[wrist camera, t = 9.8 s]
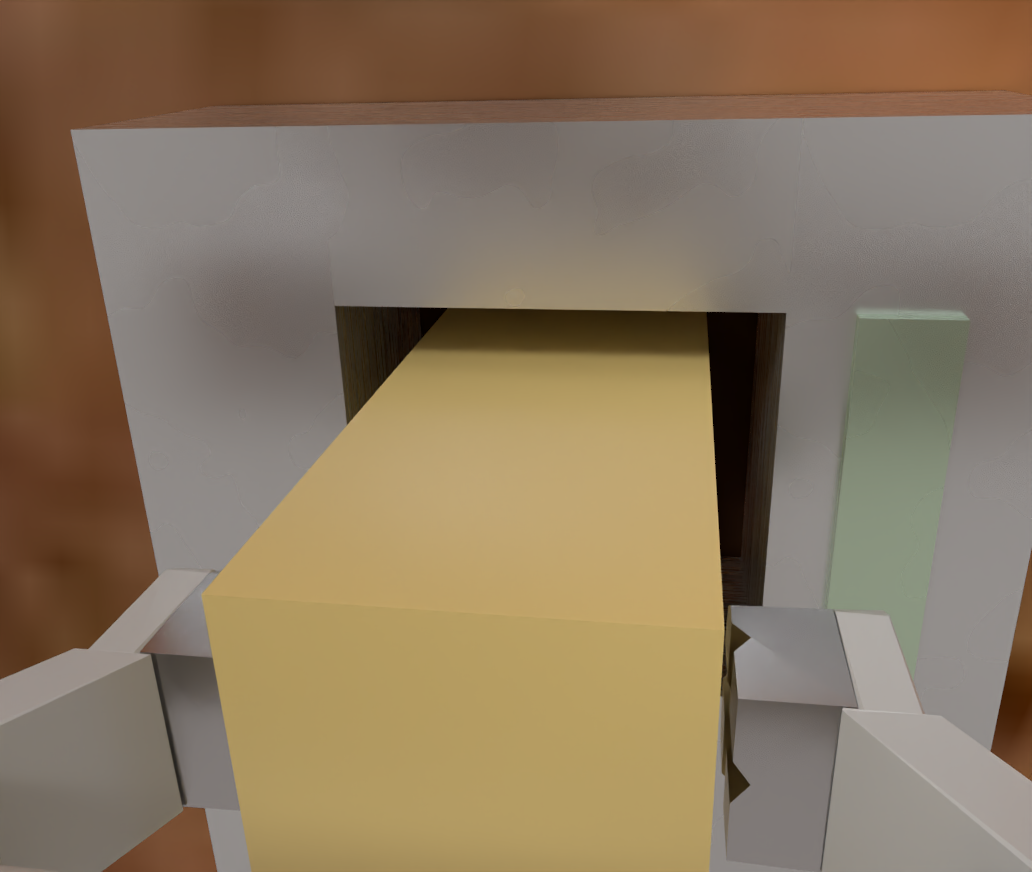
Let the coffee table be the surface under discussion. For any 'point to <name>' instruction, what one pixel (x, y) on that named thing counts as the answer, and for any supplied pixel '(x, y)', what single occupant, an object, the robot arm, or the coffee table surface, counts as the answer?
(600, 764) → the plug
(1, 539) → the coffee table surface
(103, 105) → the coffee table surface
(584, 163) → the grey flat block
